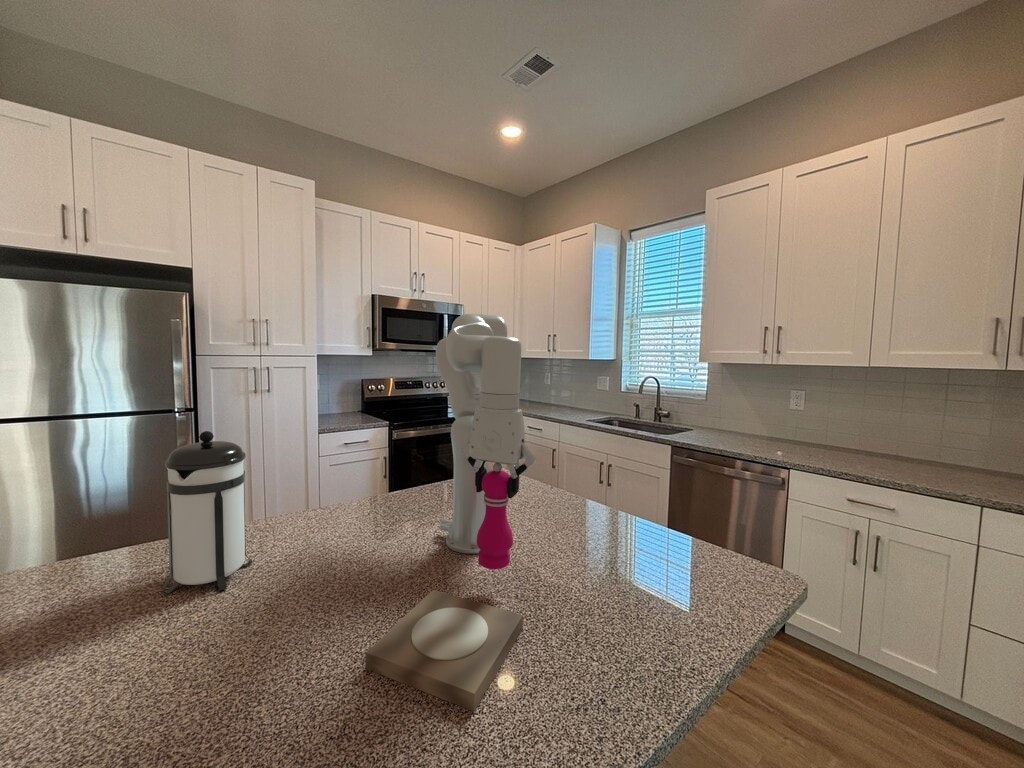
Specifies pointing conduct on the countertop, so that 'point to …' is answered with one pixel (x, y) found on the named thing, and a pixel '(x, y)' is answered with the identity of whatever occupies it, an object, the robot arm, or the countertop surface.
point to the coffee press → (205, 512)
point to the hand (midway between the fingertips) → (496, 492)
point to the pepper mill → (495, 521)
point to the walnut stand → (447, 647)
